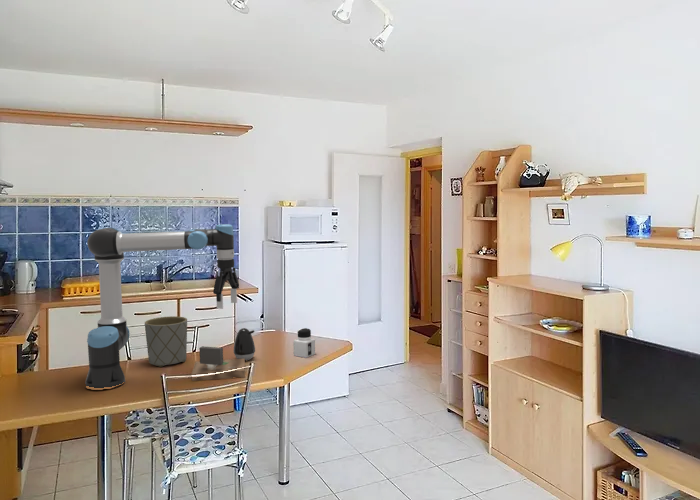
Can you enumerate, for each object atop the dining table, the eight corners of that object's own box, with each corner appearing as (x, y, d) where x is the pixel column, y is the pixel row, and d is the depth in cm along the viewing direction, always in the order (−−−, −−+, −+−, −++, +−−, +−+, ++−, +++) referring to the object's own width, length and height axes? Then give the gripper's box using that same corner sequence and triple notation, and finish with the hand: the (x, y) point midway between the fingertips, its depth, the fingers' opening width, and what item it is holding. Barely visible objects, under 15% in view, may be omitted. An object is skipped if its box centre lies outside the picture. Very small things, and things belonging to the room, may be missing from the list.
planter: (155, 370, 241) (153, 327, 239) (140, 361, 255) (138, 320, 253) (195, 362, 253) (194, 320, 251) (178, 353, 268) (177, 314, 266)
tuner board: (191, 380, 226) (191, 373, 226) (195, 368, 244) (195, 361, 244) (244, 377, 231) (244, 369, 230) (244, 364, 248) (244, 358, 248)
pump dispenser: (251, 362, 251) (250, 331, 250) (230, 361, 253) (229, 330, 252) (258, 356, 261) (258, 326, 260) (238, 355, 263) (238, 325, 262)
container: (315, 354, 264) (315, 328, 263) (306, 358, 258) (305, 331, 257) (303, 351, 269) (302, 326, 267) (293, 355, 262) (292, 329, 261)
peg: (220, 371, 230) (219, 349, 229) (199, 369, 232) (198, 348, 231) (233, 363, 241) (232, 342, 240) (213, 361, 243) (212, 341, 243)
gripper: (219, 262, 226) (221, 311, 228) (245, 256, 250) (246, 300, 252) (203, 261, 228) (205, 310, 230) (230, 255, 252) (232, 300, 254)
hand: (227, 305), depth 241 cm, fingers open, 13 cm apart
